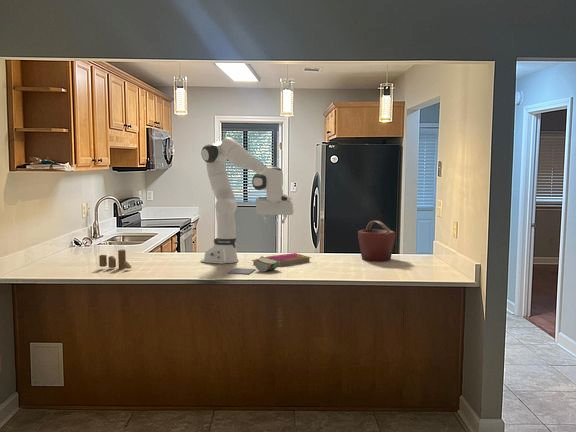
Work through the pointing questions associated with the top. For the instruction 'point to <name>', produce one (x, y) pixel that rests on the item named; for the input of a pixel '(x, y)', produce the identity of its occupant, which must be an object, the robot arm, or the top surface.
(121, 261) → the wooden block set
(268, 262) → the food container
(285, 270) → the top surface
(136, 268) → the top surface
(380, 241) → the bucket
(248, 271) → the mat
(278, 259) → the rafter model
